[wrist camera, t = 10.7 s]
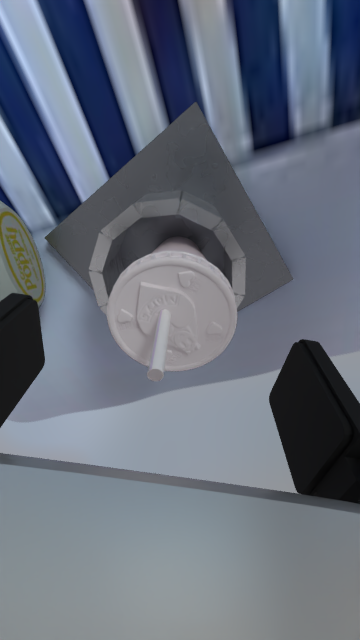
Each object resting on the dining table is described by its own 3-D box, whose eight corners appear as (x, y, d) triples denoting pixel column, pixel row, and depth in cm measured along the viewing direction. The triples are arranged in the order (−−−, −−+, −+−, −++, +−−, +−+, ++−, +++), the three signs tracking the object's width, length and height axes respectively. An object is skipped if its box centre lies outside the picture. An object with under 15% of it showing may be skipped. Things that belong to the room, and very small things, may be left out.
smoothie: (190, 198, 19) (193, 258, 7) (234, 271, 22) (291, 406, 10) (121, 249, 21) (29, 363, 9) (168, 310, 24) (147, 464, 12)
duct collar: (195, 104, 17) (198, 79, 12) (289, 274, 23) (319, 307, 18) (50, 234, 22) (6, 257, 17) (158, 351, 27) (151, 396, 22)
